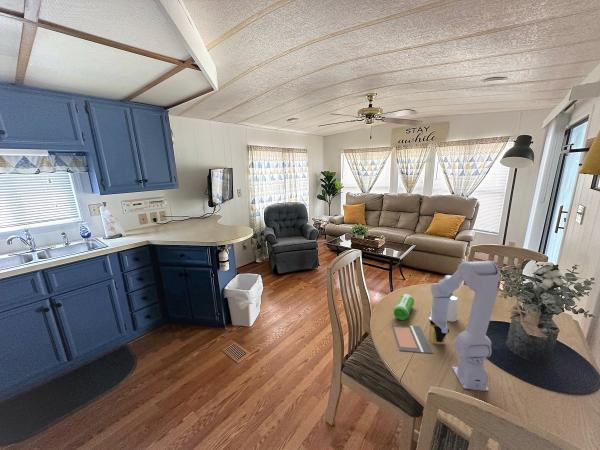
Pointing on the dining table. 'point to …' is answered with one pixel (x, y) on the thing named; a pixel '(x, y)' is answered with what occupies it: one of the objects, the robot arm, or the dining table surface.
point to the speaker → (404, 307)
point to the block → (434, 335)
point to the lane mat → (411, 339)
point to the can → (452, 309)
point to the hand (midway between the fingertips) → (436, 337)
